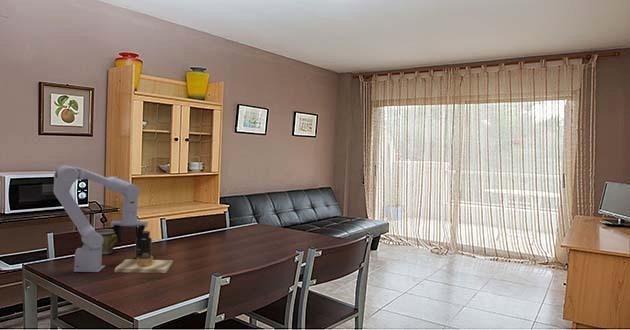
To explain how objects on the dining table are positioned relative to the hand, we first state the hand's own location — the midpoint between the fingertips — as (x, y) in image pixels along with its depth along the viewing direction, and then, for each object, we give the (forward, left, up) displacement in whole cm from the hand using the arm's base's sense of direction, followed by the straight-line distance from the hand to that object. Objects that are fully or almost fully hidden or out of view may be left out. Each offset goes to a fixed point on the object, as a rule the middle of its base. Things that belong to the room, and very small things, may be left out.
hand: (128, 243), depth 188 cm
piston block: (+8, -4, -9) cm, 13 cm away
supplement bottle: (+3, +12, -10) cm, 16 cm away
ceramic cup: (-15, +19, -10) cm, 26 cm away
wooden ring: (+8, -4, -8) cm, 12 cm away
